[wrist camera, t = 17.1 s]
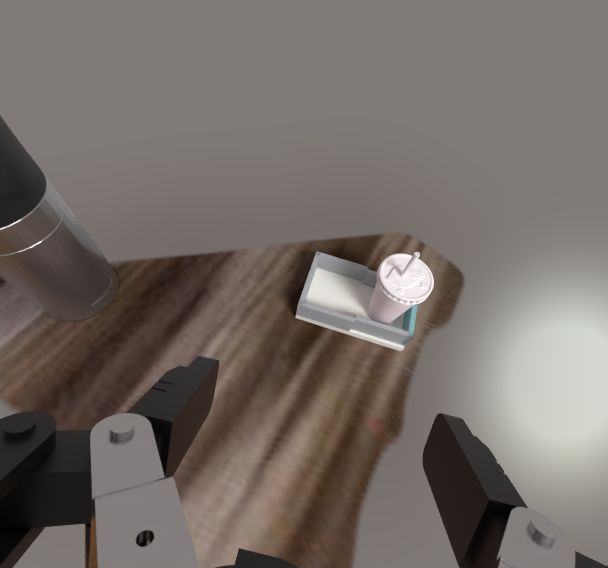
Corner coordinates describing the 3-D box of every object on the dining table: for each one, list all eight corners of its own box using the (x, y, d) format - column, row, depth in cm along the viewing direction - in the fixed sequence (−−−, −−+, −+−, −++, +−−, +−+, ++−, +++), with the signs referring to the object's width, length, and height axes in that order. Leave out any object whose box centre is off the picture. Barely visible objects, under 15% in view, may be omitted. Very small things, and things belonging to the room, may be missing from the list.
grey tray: (295, 317, 45) (297, 304, 42) (313, 266, 49) (316, 251, 46) (401, 351, 44) (412, 340, 41) (409, 296, 48) (420, 282, 45)
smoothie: (353, 295, 46) (383, 231, 34) (395, 289, 48) (438, 226, 36) (365, 337, 43) (403, 284, 31) (410, 330, 45) (463, 276, 33)
